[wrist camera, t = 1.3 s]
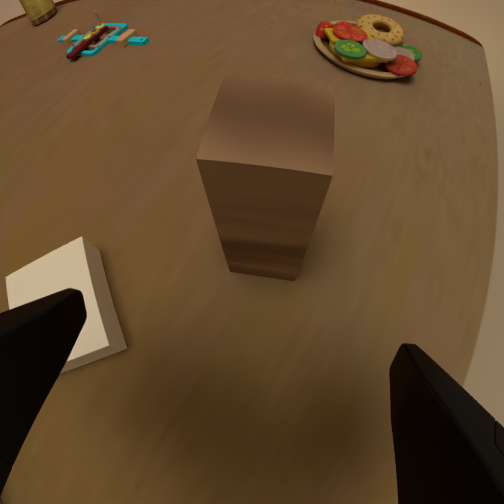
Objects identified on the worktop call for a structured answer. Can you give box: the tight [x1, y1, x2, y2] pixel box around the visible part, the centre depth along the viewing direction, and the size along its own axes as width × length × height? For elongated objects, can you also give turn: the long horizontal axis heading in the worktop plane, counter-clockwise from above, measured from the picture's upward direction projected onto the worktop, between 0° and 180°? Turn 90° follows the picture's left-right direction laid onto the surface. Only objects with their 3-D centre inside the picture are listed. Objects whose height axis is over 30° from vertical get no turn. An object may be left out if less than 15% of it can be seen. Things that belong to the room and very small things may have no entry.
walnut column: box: [196, 76, 334, 281], centre depth 17 cm, size 4×4×13 cm
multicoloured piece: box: [58, 10, 149, 59], centre depth 33 cm, size 20×5×9 cm
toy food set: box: [314, 14, 422, 79], centre depth 30 cm, size 13×13×3 cm
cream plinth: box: [6, 237, 128, 373], centre depth 20 cm, size 8×8×3 cm
